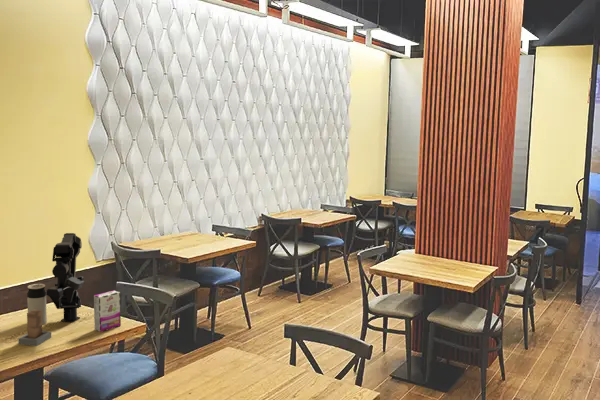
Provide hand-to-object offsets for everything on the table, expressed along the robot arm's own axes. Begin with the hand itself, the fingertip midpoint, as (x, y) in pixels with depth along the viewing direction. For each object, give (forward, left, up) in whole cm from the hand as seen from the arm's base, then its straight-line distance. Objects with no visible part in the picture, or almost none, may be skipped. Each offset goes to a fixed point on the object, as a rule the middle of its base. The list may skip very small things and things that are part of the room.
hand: (64, 305), depth 260 cm
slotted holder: (+13, -6, -12) cm, 19 cm away
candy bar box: (-9, +16, -12) cm, 22 cm away
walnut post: (+13, -6, -12) cm, 19 cm away
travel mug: (-7, -18, -12) cm, 23 cm away
